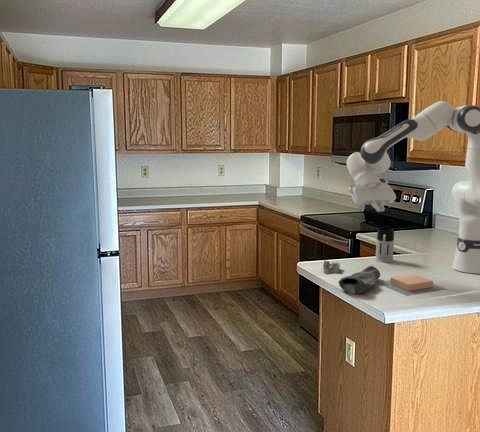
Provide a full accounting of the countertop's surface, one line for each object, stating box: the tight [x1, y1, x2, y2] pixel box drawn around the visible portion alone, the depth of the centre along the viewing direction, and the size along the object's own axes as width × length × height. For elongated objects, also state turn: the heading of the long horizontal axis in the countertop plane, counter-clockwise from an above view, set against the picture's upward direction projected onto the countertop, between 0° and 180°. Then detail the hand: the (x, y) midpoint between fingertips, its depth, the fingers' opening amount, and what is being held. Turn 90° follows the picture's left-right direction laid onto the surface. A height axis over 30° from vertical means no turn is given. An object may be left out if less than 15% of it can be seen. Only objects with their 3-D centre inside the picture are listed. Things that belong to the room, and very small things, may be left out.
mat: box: [375, 279, 448, 297], centre depth 198 cm, size 20×18×1 cm
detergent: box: [338, 265, 381, 295], centre depth 198 cm, size 13×7×25 cm
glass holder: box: [374, 227, 395, 264], centre depth 236 cm, size 9×14×15 cm, turn 160°
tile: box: [390, 274, 434, 291], centre depth 197 cm, size 12×3×10 cm
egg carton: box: [322, 259, 341, 275], centre depth 220 cm, size 10×7×4 cm
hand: (381, 210), depth 211 cm, fingers closed
